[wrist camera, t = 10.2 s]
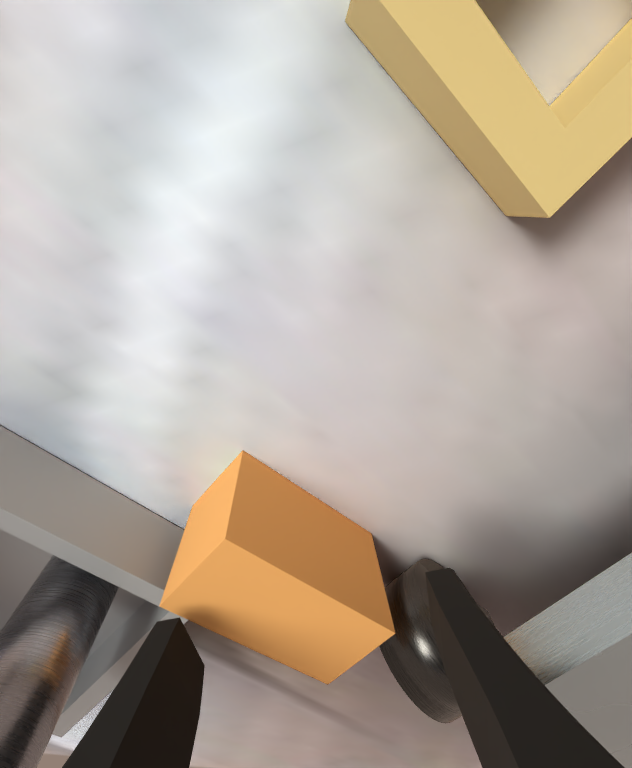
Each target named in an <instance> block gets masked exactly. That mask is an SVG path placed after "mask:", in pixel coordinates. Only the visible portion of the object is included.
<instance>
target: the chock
mask: <svg viewBox="0 0 632 768" xmlns="http://www.w3.org/2000/svg"><path fill="white" fill-rule="evenodd" d="M159 607H162V608H164V609H166V610H168V611H170V612H172V613H175V614H177V615H179V616H181V617H183V618H185V619H187V620H190V621H192V622H194V623H196V624H198V625H200V626H203V627H205V628H207V629H209V630H211V631H213V632H215V633H218V634H220V635H222V636H224V637H226V638H228V639H231V640H233V641H235V642H237V643H239V644H241V645H243V646H246V647H248V648H250V649H252V650H254V651H256V652H259V653H261V654H263V655H265V656H267V657H269V658H271V659H274V660H276V661H278V662H280V663H282V664H284V665H287V666H289V667H291V668H293V669H295V670H297V671H299V672H302V673H304V674H306V675H308V676H310V677H312V678H315V679H317V680H319V681H321V682H323V683H325V684H327V685H328V684H329V683H331V682H332V681H333V680H335V679H336V678H337V677H339V676H340V675H341V674H343V673H344V672H345V671H346V670H348V669H349V668H350V667H352V666H353V665H354V664H356V663H357V662H358V661H360V660H361V659H362V658H364V657H365V656H366V655H368V654H369V653H370V652H372V651H373V650H374V649H375V648H377V647H378V646H379V645H381V644H382V643H383V642H385V641H386V640H387V639H389V638H390V637H391V636H393V635H394V634H395V629H394V625H393V621H392V617H391V613H390V609H389V604H388V600H387V596H386V592H385V588H384V584H383V580H382V575H381V571H380V567H379V563H378V559H377V555H376V551H375V547H374V542H373V538H372V534H371V533H370V532H368V531H367V530H365V529H364V528H362V527H361V526H359V525H357V524H356V523H354V522H353V521H351V520H350V519H348V518H347V517H345V516H344V515H342V514H340V513H339V512H337V511H336V510H334V509H333V508H331V507H330V506H328V505H327V504H325V503H324V502H322V501H320V500H319V499H317V498H316V497H314V496H313V495H311V494H310V493H308V492H307V491H305V490H303V489H302V488H300V487H299V486H297V485H296V484H294V483H293V482H291V481H290V480H288V479H287V478H285V477H283V476H282V475H280V474H279V473H277V472H276V471H274V470H273V469H271V468H270V467H268V466H266V465H265V464H263V463H262V462H260V461H259V460H257V459H256V458H254V457H253V456H251V455H250V454H248V453H246V452H245V451H242V452H241V453H240V454H239V455H238V456H237V457H236V458H235V460H234V461H233V462H232V463H231V464H230V465H229V466H228V467H227V468H226V469H225V471H224V472H223V473H222V474H221V475H220V476H219V477H218V478H217V479H216V481H215V482H214V483H213V484H212V485H211V486H210V487H209V488H208V489H207V491H206V492H205V493H204V494H203V495H202V496H201V497H200V498H199V499H198V500H197V502H196V503H195V504H194V505H193V506H192V509H191V512H190V515H189V518H188V521H187V524H186V527H185V530H184V533H183V536H182V539H181V542H180V545H179V548H178V551H177V554H176V557H175V560H174V563H173V566H172V569H171V572H170V575H169V578H168V581H167V584H166V587H165V590H164V593H163V596H162V599H161V602H160V605H159Z"/></svg>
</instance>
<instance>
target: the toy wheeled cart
mask: <svg viewBox="0 0 632 768" xmlns="http://www.w3.org/2000/svg"><path fill="white" fill-rule="evenodd" d="M440 569H445V568H443V567H442V566H441V565H439V564H437V563H436V562H434V561H432V560H429V559H421V560H419V561H418V562H417V563H415V564H414V565H413V566H411V567H410V568H409V569H408V570H406V571H405V572H404V573H402V574H401V575H400V576H399V577H397V578H396V579H395V580H393V581H392V582H391V583H390V584H388V585H387V586H386V587H385V592H386V596H387V600H388V604H389V609H390V613H391V617H392V621H393V625H394V629H395V634H394V635H393V636H391V637H390V638H389V639H387V640H386V641H385V642H383V643H382V644H381V645H379V646H380V649H381V651H382V654H383V656H384V658H385V660H386V662H387V664H388V666H389V668H390V670H391V672H392V673H393V675H394V677H395V678H396V680H397V682H398V683H399V685H400V686H401V687H402V689H403V690H404V692H405V693H406V694H407V695H408V697H409V698H410V699H411V700H412V701H413V702H414V704H415V705H416V706H417V707H418V708H419V709H420V710H422V711H423V712H424V713H425V714H426V715H428V716H429V717H431V718H432V719H434V720H436V721H438V722H441V723H450V722H452V721H454V720H456V719H457V718H459V717H461V716H462V713H461V711H460V708H459V706H458V703H457V701H456V698H455V695H454V693H453V690H452V688H451V685H450V682H449V680H448V677H447V675H446V672H445V669H444V666H443V662H442V659H441V656H440V652H439V649H438V645H437V642H436V639H435V635H434V632H433V628H432V625H431V616H430V608H429V600H428V591H427V583H426V575H425V572H429V571H435V570H440ZM477 605H478V604H477ZM478 606H479V605H478ZM479 607H480V609H481V610H482V611H483V613H484V614H485V615H486V617H487V618H488V619H489V620H490V622H491V623H492V624H493V622H492V620H491V618H490V616H489V613H488V611H486V610H485V609H484V608H482V607H481V606H479ZM493 626H494V624H493ZM494 627H495V626H494ZM503 638H504V639H505V640H506V641H507V643H508V644H509V645H510V646H511V647H512V649H513V650H514V651H515V652H516V653H517V655H518V656H519V657H520V658H521V659H522V661H523V662H524V663H525V664H526V665H527V666H528V667H529V669H530V670H531V671H532V672H533V673H534V674H535V675H536V677H537V678H538V679H539V680H540V681H541V682H542V683H543V684H544V685H545V686H546V688H547V689H548V690H549V691H550V692H551V693H552V694H553V695H554V696H555V697H556V699H557V700H558V701H559V702H560V703H561V704H562V705H563V706H564V707H565V708H566V709H567V710H568V711H569V712H570V713H571V714H572V716H573V717H574V718H575V719H576V720H577V721H578V722H579V723H580V724H581V725H582V726H583V727H584V728H585V729H586V730H587V731H588V732H589V733H590V734H591V735H592V736H593V737H594V738H595V739H596V740H597V741H598V742H599V743H600V744H601V745H602V746H603V747H604V748H605V749H606V750H607V751H608V752H609V753H610V754H611V755H612V756H613V757H614V758H615V759H616V760H617V761H618V762H619V763H620V764H621V765H622V766H624V767H625V768H632V553H630V554H629V555H627V556H626V557H624V558H623V559H621V560H620V561H618V562H617V563H615V564H614V565H612V566H611V567H609V568H608V569H606V570H605V571H603V572H602V573H600V574H599V575H597V576H595V577H594V578H592V579H591V580H589V581H588V582H586V583H585V584H583V585H582V586H580V587H579V588H577V589H576V590H574V591H573V592H571V593H570V594H568V595H567V596H565V597H564V598H562V599H561V600H559V601H557V602H556V603H554V604H553V605H551V606H550V607H548V608H547V609H545V610H544V611H542V612H541V613H539V614H538V615H536V616H535V617H533V618H532V619H530V620H529V621H527V622H526V623H524V624H523V625H521V626H519V627H518V628H516V629H515V630H513V631H512V632H510V633H509V634H507V635H506V636H504V637H503Z"/></svg>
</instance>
